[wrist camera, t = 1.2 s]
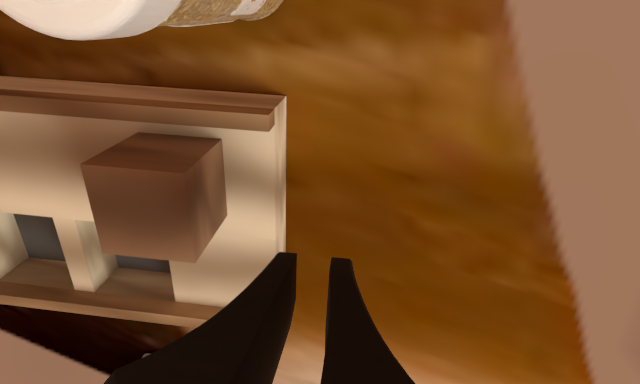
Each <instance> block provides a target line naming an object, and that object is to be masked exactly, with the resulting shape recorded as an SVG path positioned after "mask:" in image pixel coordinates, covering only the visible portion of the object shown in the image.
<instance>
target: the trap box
mask: <svg viewBox="0 0 640 384" xmlns="http://www.w3.org/2000/svg"><path fill="white" fill-rule="evenodd" d="M137 132H143V133H155V134H168V135H180V136H192V137H205V138H217V139H222V146H223V160H224V173H225V187H226V201H227V214H228V215H227V217H226V218H225V220H224V221H223V223H222V224H221V226H220V227H219V229H218V230H217V232H216V233H215V235H214V236H213V238H212V239H211V241H210V242H209V244H208V245H207V247H206V248H205V250H204V251H203V253H202V254H201V256H200V257H199V259H198V260H197V262H196V263H187V262H178V261H169V260H159V259H150V258H141V257H132V256H122V255H113V254H104V253H102V250H101V246H100V242H99V238H98V234H97V230H96V226H95V222H94V218H93V214H92V210H91V206H90V203H89V199H88V195H87V191H86V187H85V183H84V179H83V175H82V171H81V167H80V164H81V163H83V162H85V161H87V160H88V159H90V158H92V157H94V156H96V155H97V154H99V153H101V152H103V151H105V150H107V149H108V148H110V147H112V146H114V145H116V144H117V143H119V142H121V141H123V140H125V139H127V138H128V137H130V136H132V135H134V134H136V133H137ZM285 248H286V96H282V95H268V94H254V93H239V92H225V91H211V90H197V89H182V88H168V87H154V86H140V85H125V84H111V83H97V82H82V81H68V80H54V79H40V78H25V77H11V76H0V304H5V305H13V306H22V307H30V308H38V309H46V310H54V311H62V312H71V313H79V314H87V315H95V316H103V317H112V318H120V319H128V320H136V321H144V322H152V323H161V324H169V325H177V326H185V327H193V328H197V327H199V326H200V325H201V324H203V323H204V322H206V321H207V320H209V319H210V318H211V317H213V316H214V315H215V314H217V313H218V312H219V311H220V310H222V309H223V308H224V307H225V306H227V305H228V304H229V303H230V302H231V301H232V300H233V299H234V298H236V297H237V296H238V295H239V294H240V293H241V292H242V291H243V290H244V289H245V288H246V287H247V286H248V285H249V284H250V283H251V282H252V281H253V280H254V279H255V278H256V277H257V276H258V275H259V274H260V273H261V272H262V271H263V270H264V268H265V267H266V266H267V265H268V264H269V263H270V262H271V260H272V259H273V258H274V257H275V255H276V254H277V253H279V252H285Z"/></svg>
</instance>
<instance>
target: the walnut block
mask: <svg viewBox="0 0 640 384" xmlns="http://www.w3.org/2000/svg"><path fill="white" fill-rule="evenodd" d="M80 167H81V171H82V175H83V179H84V183H85V187H86V191H87V195H88V199H89V203H90V206H91V210H92V214H93V218H94V222H95V226H96V230H97V234H98V238H99V242H100V246H101V250H102V253H104V254H113V255H122V256H132V257H141V258H150V259H159V260H169V261H178V262H187V263H196V262H197V260H198V259H199V257H200V256H201V254H202V253H203V251H204V250H205V248H206V247H207V245H208V244H209V242H210V241H211V239H212V238H213V236H214V235H215V233H216V232H217V230H218V229H219V227H220V226H221V224H222V223H223V221H224V220H225V218H226V217H227V215H228V214H227V201H226V187H225V173H224V160H223V146H222V139H217V138H205V137H192V136H180V135H168V134H155V133H143V132H137V133H136V134H134V135H132V136H130V137H128V138H127V139H125V140H123V141H121V142H119V143H117V144H116V145H114V146H112V147H110V148H108V149H107V150H105V151H103V152H101V153H99V154H97V155H96V156H94V157H92V158H90V159H88V160H87V161H85V162H83V163H81V164H80Z"/></svg>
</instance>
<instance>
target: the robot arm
mask: <svg viewBox="0 0 640 384" xmlns="http://www.w3.org/2000/svg"><path fill="white" fill-rule="evenodd" d="M296 262H297V254H296V253H286V252H279V253H277V254H276V255H275V257H274V258H273V259H272V260H271V262H270V263H269V264H268V265H267V266H266V267H265V268H264V270H263V271H262V272H261V273H260V274H259V275H258V276H257V277H256V278H255V279H254V280H253V281H252V282H251V283H250V284H249V285H248V286H247V287H246V288H245V289H244V290H243V291H242V292H241V293H240V294H239V295H238V296H237V297H236V298H234V299H233V300H232V301H231V302H230V303H229V304H228V305H227V306H225V307H224V308H223V309H222V310H220V311H219V312H218V313H217V314H215V315H214V316H213V317H211V318H210V319H209V320H207V321H206V322H204V323H203V324H201V325H200V326H199V327H197V328H195V329H194V330H192V331H191V332H189V333H188V334H186V335H185V336H183V337H181V338H180V339H178V340H176V341H174V342H172V343H171V344H169V345H167V346H165V347H163V348H161V349H159V350H157V351H156V352H153V353H151V354H150V353H146V354H144V355H143V357H142V358H141V359H138V360H136V361H134V362H132V363H129V364H127V365H125V366H123V367H120V368H118V369H115V371H114V372H113V373H112V374H111V376H110V377H109V378H108V379H107V380H106V381H105V383H104V384H272V382H273V379H274V376H275V373H276V370H277V367H278V363H279V360H280V357H281V354H282V351H283V348H284V345H285V341H286V338H287V335H288V332H289V329H290V325H291V321H292V316H293V311H294V305H295V300H296ZM321 384H415V383H414V382H413V380H412V379H411V378H410V377H409V375H408V374H407V373H406V371H405V370H404V369H403V368H402V366H401V365H400V364H399V362H398V361H397V360H396V358H395V357H394V356H393V354H392V353H391V351H390V350H389V348H388V346H387V345H386V343H385V342H384V340H383V339H382V337H381V335H380V333H379V332H378V330H377V328H376V326H375V324H374V323H373V321H372V319H371V317H370V315H369V312H368V310H367V308H366V306H365V304H364V301H363V299H362V296H361V294H360V291H359V288H358V285H357V282H356V279H355V275H354V271H353V266H352V261H351V260H350V259H344V258H334V257H332V259H331V265H330V273H329V287H328V301H327V316H326V333H325V358H324V365H323V372H322V379H321Z"/></svg>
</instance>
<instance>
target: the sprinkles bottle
mask: <svg viewBox="0 0 640 384" xmlns="http://www.w3.org/2000/svg"><path fill="white" fill-rule="evenodd" d="M282 1H283V0H0V10H1V11H3V12H4V13H5V14H7V15H8V16H10V17H11V18H13V19H14V20H16V21H17V22H19V23H21V24H23V25H24V26H26V27H29V28H31V29H33V30H35V31H38V32H40V33H43V34H46V35H49V36H52V37H56V38H61V39H66V40H97V39H110V38H121V37H129V36H135V35H138V34H141V33H144V32H146V31H149V30H151V29H153V28H155V27H156V26H172V27H189V26H198V25H209V24H218V23H226V22H233V21H235V20H237V19H242V20H246V21H251V20H258V19H262V18H265V17H267V16H268V15H270V14H271V13H273V12H274V11H275V10H276V9H277V8H278V7H279V5H280V4H281V3H282Z"/></svg>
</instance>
